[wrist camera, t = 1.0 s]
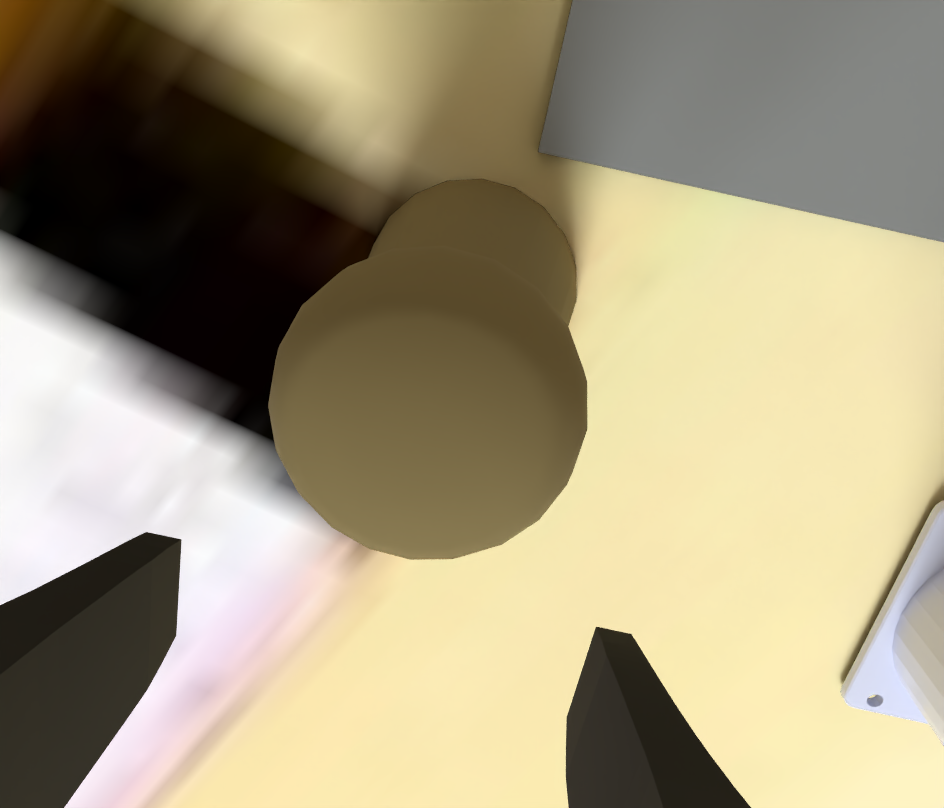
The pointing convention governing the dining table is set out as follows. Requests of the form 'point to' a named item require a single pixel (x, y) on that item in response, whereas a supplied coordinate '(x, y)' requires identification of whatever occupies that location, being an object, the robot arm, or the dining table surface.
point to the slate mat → (763, 101)
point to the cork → (437, 378)
